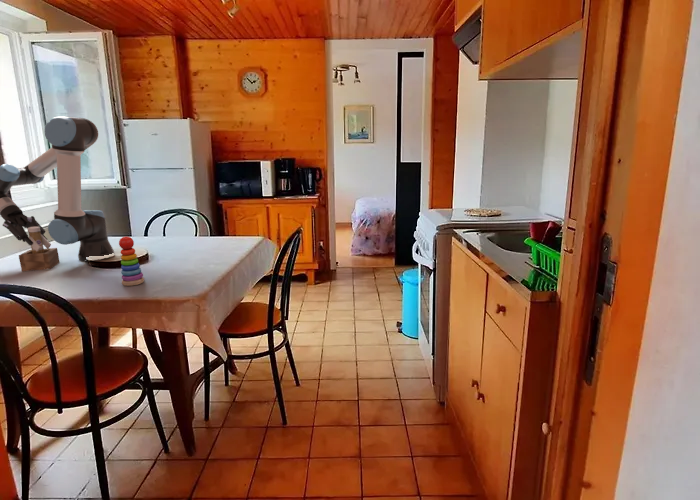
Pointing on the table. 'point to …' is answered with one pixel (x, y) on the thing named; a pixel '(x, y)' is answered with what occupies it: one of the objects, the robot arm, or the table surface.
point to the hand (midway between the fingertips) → (44, 247)
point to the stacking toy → (130, 263)
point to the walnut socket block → (39, 260)
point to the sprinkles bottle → (36, 238)
